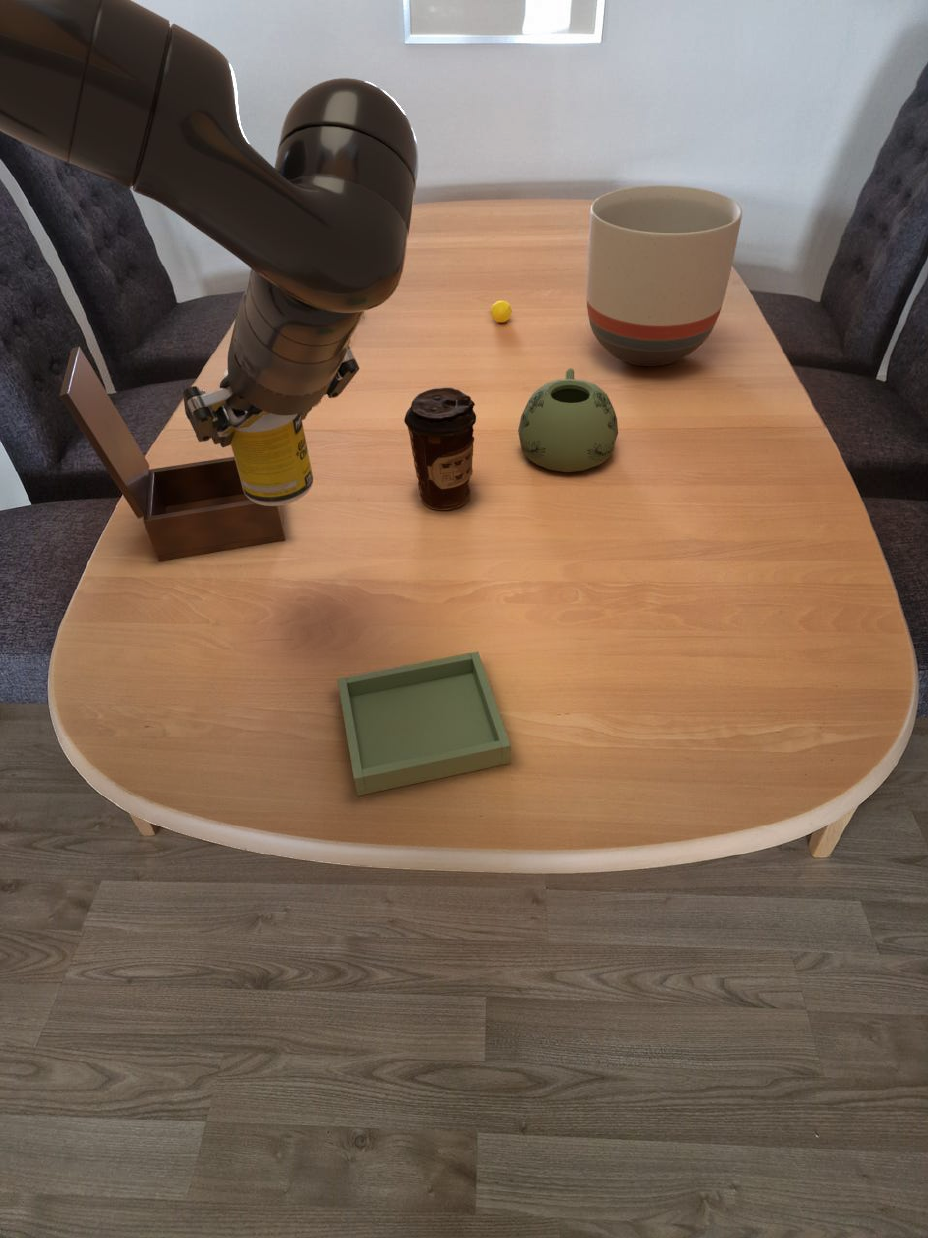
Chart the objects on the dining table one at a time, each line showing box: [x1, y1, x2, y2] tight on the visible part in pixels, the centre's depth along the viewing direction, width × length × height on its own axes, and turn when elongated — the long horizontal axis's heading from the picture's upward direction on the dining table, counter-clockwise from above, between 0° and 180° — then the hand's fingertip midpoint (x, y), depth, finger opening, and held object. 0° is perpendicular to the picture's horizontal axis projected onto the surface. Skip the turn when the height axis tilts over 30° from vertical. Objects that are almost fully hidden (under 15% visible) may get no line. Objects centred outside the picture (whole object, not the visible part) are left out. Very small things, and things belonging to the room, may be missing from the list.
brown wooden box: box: [142, 456, 286, 562], centre depth 96 cm, size 15×11×6 cm
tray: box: [336, 651, 512, 797], centre depth 73 cm, size 14×12×3 cm
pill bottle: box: [223, 367, 314, 506], centre depth 70 cm, size 6×6×12 cm
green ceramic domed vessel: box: [517, 367, 619, 473], centre depth 105 cm, size 16×13×9 cm
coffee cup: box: [403, 387, 477, 511], centre depth 96 cm, size 9×8×13 cm
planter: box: [585, 184, 743, 367], centre depth 118 cm, size 20×20×21 cm
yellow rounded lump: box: [490, 300, 513, 323], centre depth 136 cm, size 3×6×4 cm, turn 2°
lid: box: [59, 346, 150, 519], centre depth 87 cm, size 16×11×1 cm
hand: (258, 423), depth 71 cm, fingers closed on pill bottle, 6 cm apart
